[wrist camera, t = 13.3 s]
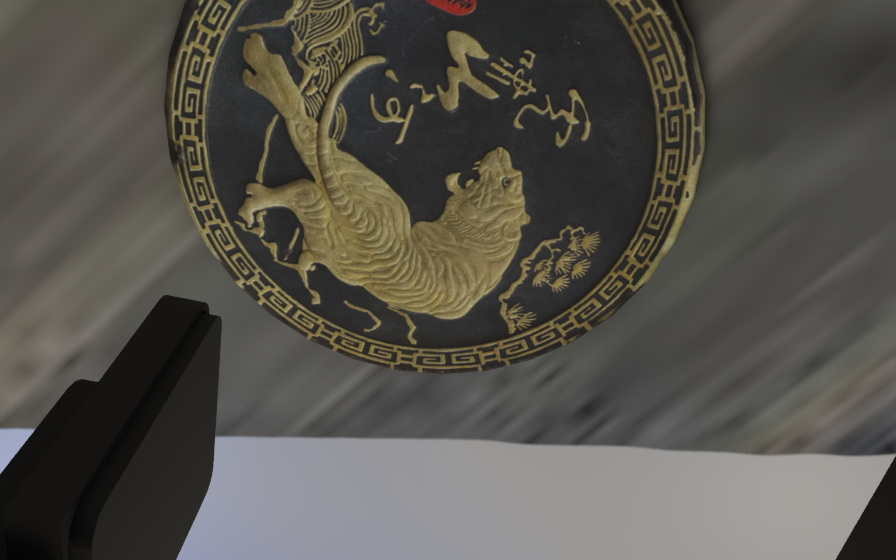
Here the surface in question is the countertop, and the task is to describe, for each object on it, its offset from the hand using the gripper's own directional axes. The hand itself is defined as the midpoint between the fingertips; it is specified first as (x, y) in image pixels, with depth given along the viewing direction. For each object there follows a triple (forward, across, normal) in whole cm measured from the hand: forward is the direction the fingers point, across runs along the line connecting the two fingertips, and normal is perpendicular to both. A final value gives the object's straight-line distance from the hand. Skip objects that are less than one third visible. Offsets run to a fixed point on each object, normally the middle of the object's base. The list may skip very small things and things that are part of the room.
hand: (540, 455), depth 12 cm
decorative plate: (+37, +3, +9) cm, 38 cm away
